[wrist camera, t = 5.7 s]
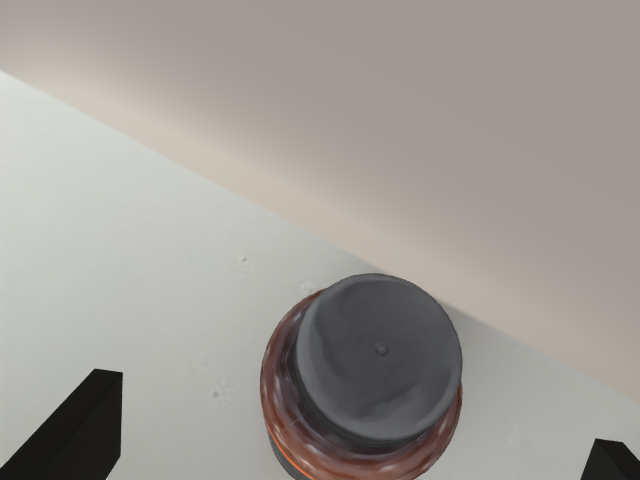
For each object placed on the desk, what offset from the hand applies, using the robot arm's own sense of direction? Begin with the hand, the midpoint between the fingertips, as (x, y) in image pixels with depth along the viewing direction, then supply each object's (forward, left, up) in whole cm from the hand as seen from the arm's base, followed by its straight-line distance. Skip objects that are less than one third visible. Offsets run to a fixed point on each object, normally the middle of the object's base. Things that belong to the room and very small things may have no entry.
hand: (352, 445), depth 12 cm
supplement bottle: (+1, -2, -8) cm, 8 cm away
